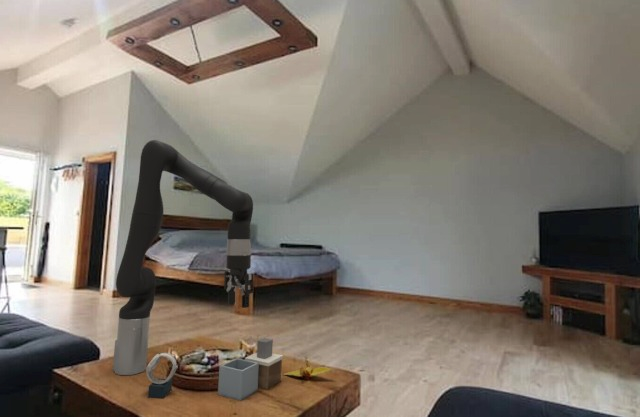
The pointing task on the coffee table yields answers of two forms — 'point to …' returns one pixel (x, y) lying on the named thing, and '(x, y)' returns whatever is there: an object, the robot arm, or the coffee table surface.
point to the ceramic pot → (238, 379)
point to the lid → (264, 353)
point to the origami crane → (308, 371)
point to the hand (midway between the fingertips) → (238, 305)
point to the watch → (160, 386)
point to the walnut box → (269, 375)
